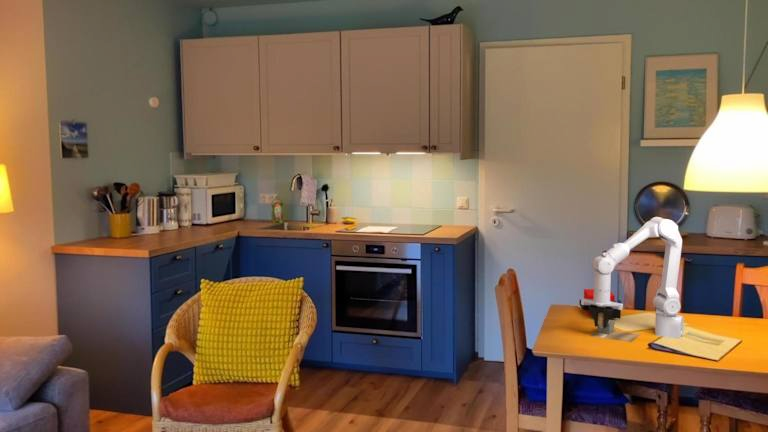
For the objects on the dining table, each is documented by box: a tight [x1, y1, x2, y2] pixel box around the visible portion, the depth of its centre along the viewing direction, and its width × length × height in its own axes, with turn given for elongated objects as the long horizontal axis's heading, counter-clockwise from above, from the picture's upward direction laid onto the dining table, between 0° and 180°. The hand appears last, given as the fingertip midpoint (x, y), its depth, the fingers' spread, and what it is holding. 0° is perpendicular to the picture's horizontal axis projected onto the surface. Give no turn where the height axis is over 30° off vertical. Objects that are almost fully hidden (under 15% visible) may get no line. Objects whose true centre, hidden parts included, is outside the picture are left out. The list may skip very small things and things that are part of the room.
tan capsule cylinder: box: [596, 313, 605, 331], centre depth 257 cm, size 3×3×6 cm
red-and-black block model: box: [579, 288, 622, 320], centre depth 292 cm, size 15×8×25 cm
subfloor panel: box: [589, 329, 641, 343], centre depth 259 cm, size 15×12×1 cm
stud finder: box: [598, 319, 615, 335], centre depth 262 cm, size 4×6×4 cm, turn 145°
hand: (601, 326), depth 257 cm, fingers closed on tan capsule cylinder, 3 cm apart
